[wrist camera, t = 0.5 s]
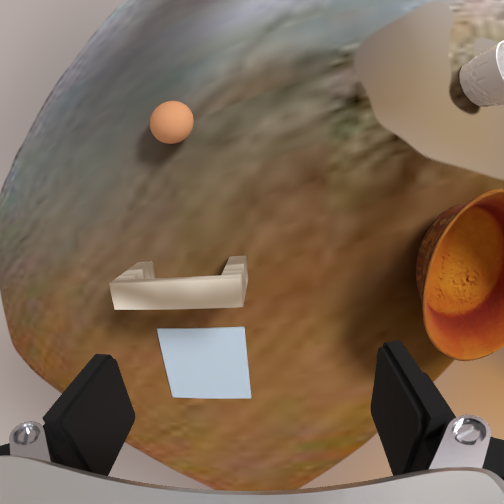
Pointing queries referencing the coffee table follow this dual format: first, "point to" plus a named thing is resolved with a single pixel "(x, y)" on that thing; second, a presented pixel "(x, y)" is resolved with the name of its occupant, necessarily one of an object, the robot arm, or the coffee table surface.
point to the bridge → (180, 288)
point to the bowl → (464, 278)
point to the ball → (171, 122)
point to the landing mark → (206, 362)
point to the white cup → (485, 77)
